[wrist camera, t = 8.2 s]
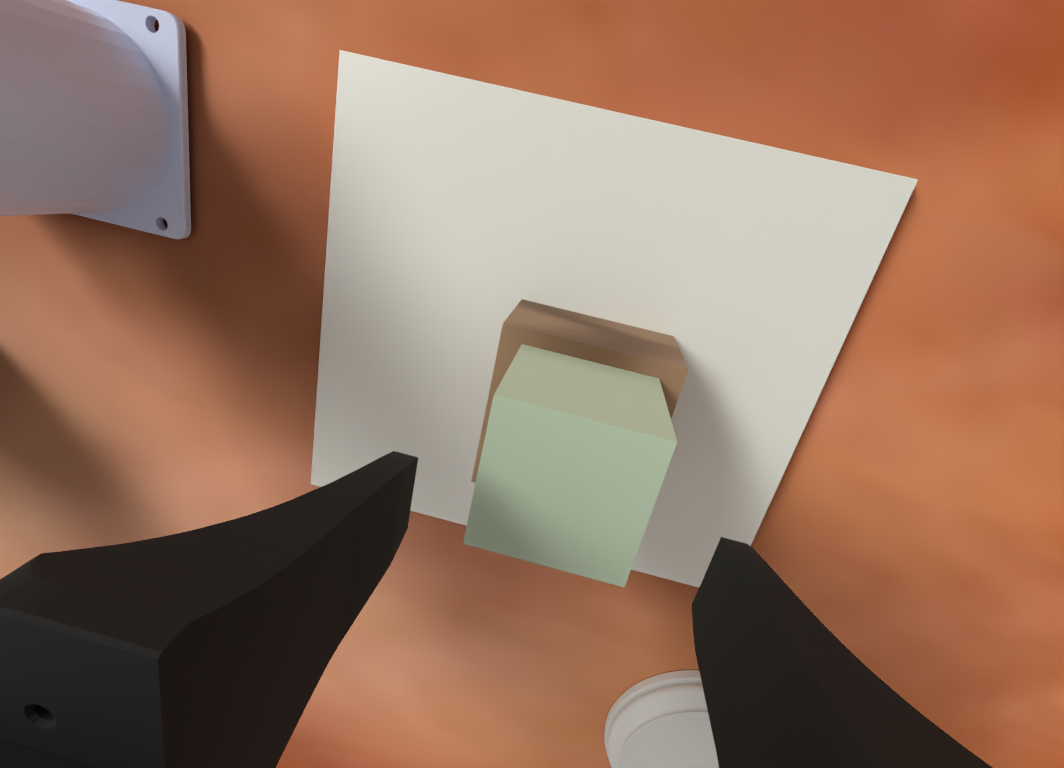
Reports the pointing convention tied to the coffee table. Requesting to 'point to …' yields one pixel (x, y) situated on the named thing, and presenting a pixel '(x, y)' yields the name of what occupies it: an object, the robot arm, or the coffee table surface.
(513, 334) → the walnut block
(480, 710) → the coffee table surface
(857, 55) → the coffee table surface
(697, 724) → the chess piece
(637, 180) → the baseplate
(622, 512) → the sage block
